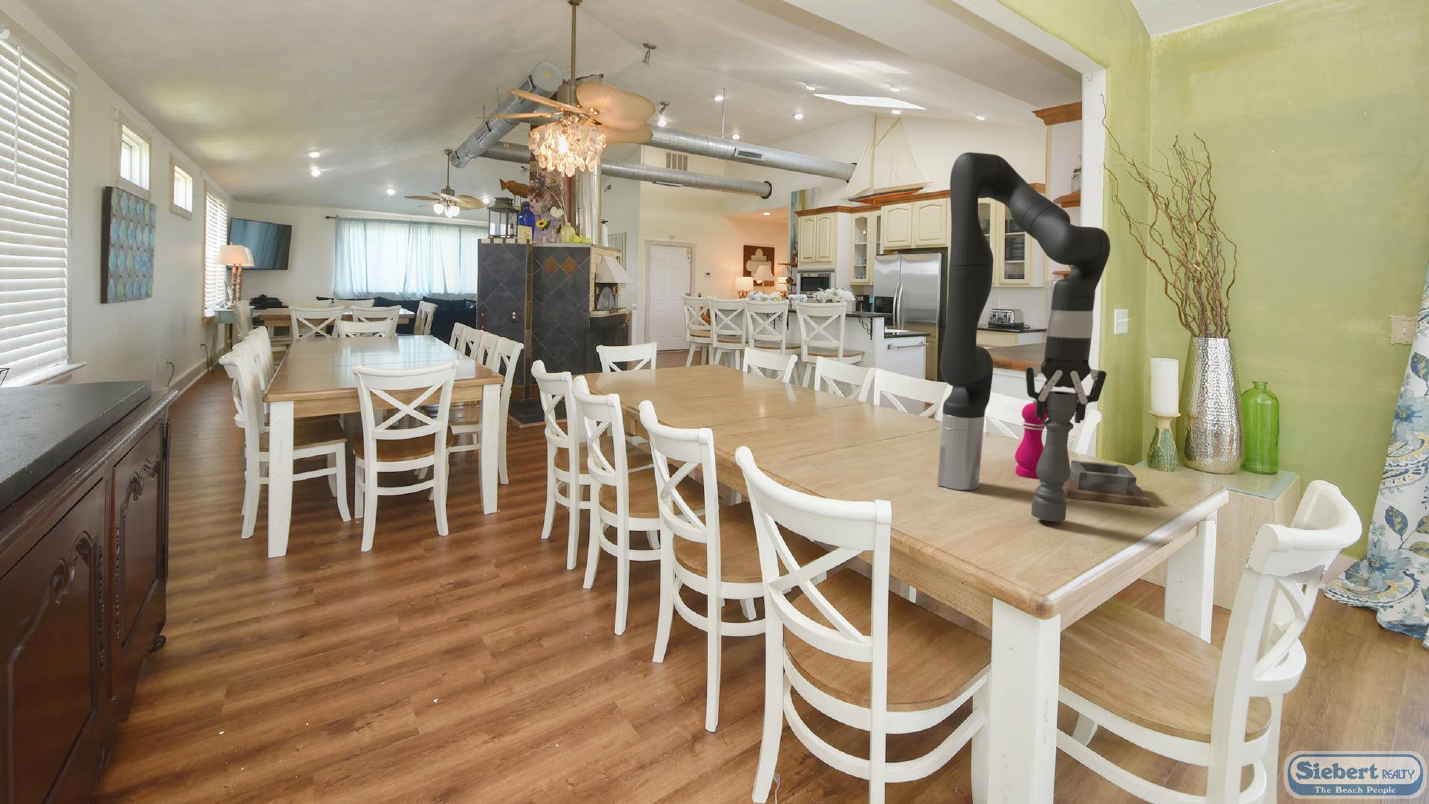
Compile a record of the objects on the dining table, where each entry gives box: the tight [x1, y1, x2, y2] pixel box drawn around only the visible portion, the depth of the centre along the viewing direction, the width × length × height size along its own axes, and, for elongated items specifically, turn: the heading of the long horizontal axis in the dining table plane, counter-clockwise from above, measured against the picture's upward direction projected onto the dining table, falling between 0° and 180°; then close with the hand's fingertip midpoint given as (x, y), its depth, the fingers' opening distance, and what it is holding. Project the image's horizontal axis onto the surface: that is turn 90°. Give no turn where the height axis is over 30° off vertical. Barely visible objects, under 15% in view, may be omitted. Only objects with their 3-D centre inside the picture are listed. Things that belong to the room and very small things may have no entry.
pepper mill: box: [1014, 398, 1048, 479], centre depth 159 cm, size 7×7×20 cm
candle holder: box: [1030, 390, 1078, 522], centre depth 125 cm, size 6×6×25 cm
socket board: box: [1062, 460, 1152, 507], centre depth 147 cm, size 16×16×6 cm
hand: (1059, 420), depth 123 cm, fingers closed on candle holder, 5 cm apart
